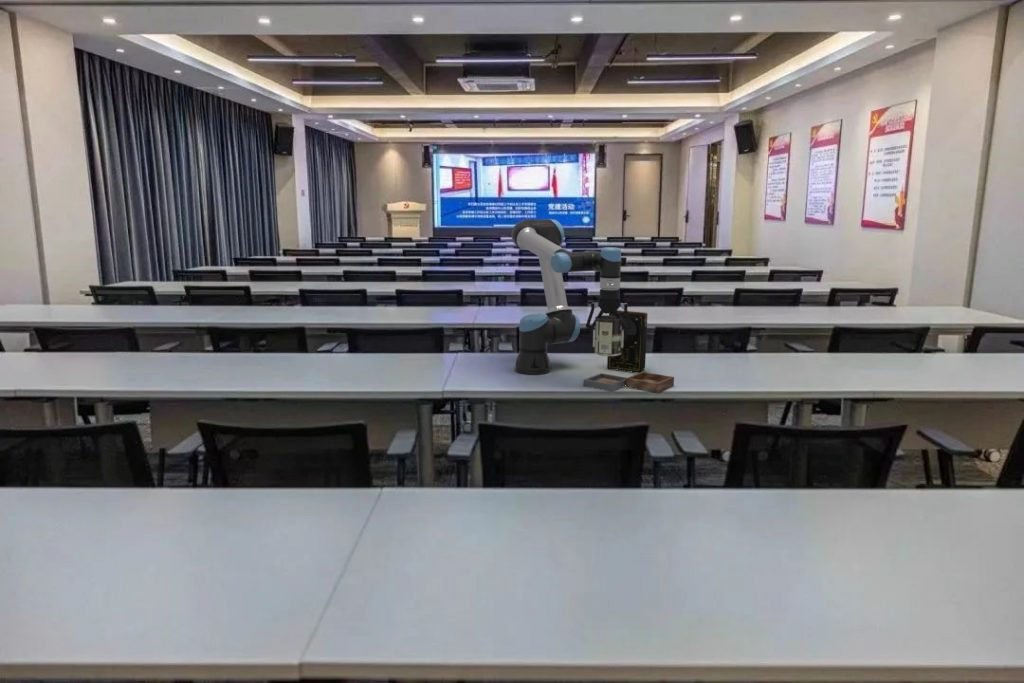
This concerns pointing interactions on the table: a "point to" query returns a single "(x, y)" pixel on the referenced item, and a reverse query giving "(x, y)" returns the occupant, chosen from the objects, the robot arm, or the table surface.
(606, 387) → the checker cradle
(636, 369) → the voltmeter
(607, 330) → the coffee can
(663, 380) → the walnut tray
